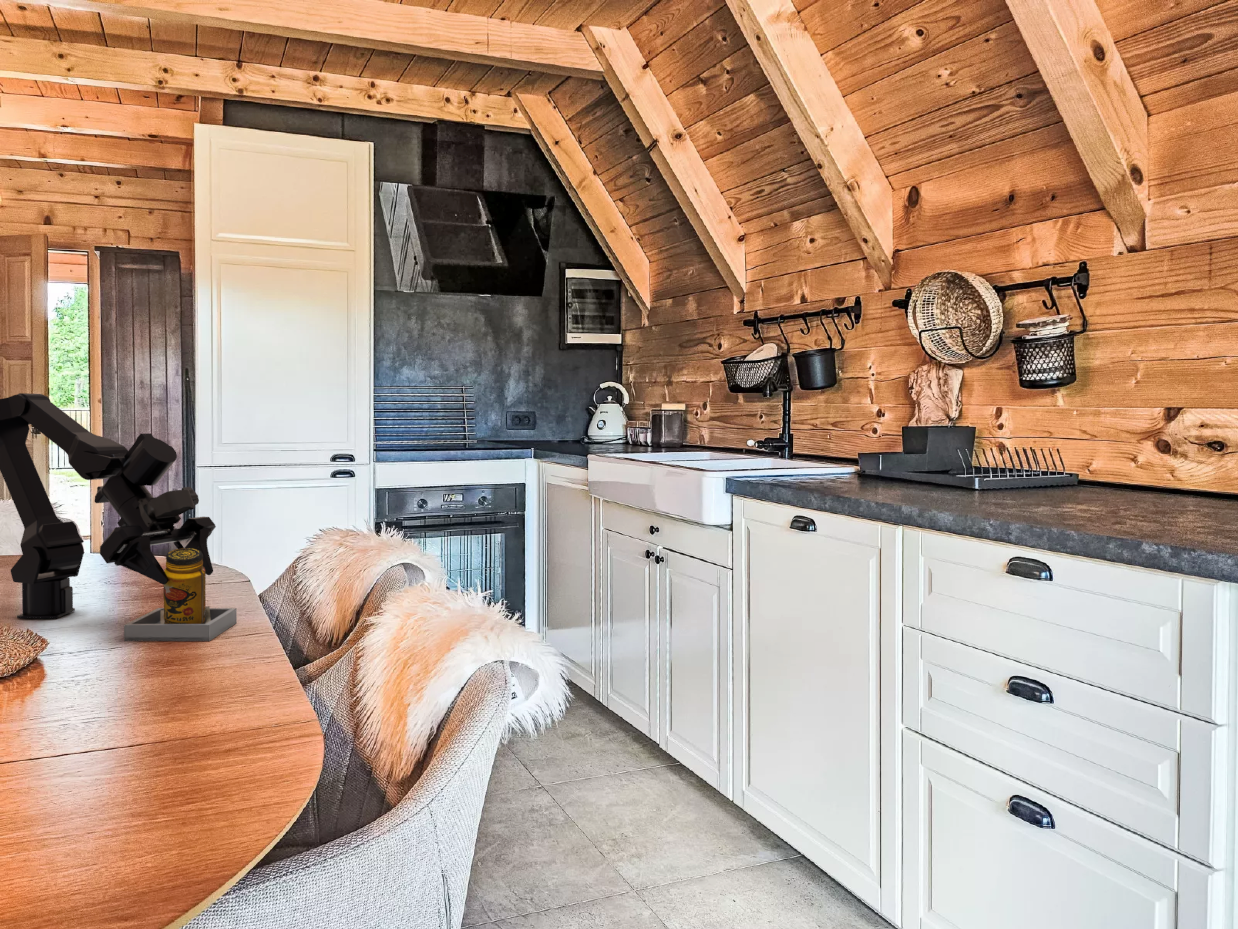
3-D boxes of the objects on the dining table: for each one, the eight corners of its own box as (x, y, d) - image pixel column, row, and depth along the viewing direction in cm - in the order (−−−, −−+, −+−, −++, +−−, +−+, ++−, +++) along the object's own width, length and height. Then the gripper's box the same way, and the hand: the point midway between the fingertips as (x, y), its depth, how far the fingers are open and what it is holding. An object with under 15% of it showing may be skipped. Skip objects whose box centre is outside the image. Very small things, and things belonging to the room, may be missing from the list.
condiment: (160, 634, 144) (159, 562, 141) (160, 611, 151) (159, 542, 148) (211, 630, 147) (212, 560, 144) (209, 607, 155) (209, 540, 152)
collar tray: (124, 641, 142) (123, 625, 142) (158, 622, 154) (158, 608, 154) (209, 641, 143) (209, 625, 143) (236, 623, 155) (236, 608, 155)
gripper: (113, 474, 140) (170, 552, 137) (206, 468, 157) (259, 537, 154) (74, 523, 143) (130, 600, 140) (170, 512, 160) (221, 581, 157)
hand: (189, 577), depth 148 cm, fingers open, 9 cm apart
